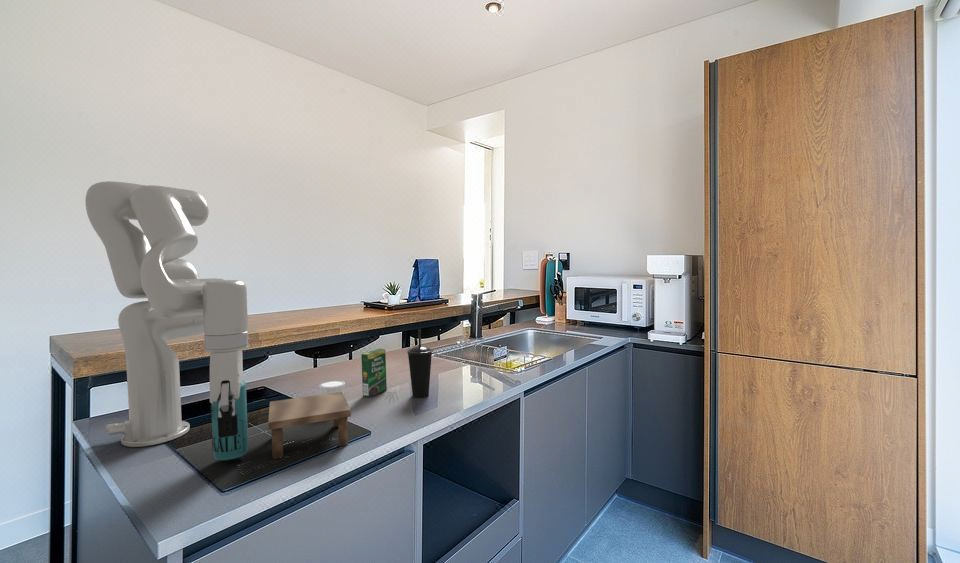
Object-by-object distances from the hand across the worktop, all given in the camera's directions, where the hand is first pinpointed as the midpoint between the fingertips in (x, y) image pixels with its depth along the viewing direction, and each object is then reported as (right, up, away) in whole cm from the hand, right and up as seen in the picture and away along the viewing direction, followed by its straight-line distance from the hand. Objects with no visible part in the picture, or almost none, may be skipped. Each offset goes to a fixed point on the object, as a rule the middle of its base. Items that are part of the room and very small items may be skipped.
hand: (230, 428), depth 84 cm
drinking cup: (+33, -5, +41) cm, 52 cm away
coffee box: (+18, -5, +43) cm, 47 cm away
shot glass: (+10, -5, +30) cm, 32 cm away
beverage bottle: (0, -7, 0) cm, 7 cm away
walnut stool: (+12, -6, +10) cm, 17 cm away
